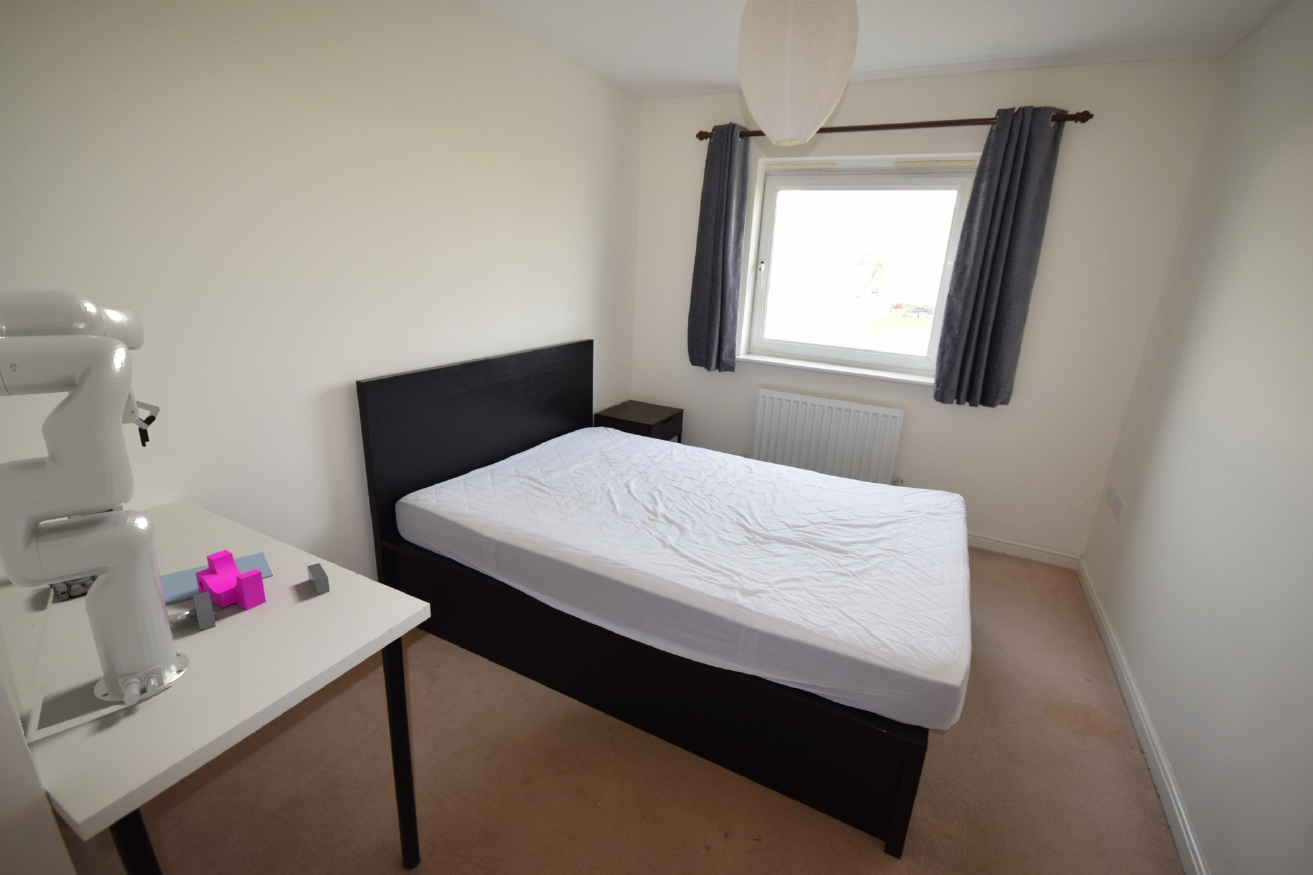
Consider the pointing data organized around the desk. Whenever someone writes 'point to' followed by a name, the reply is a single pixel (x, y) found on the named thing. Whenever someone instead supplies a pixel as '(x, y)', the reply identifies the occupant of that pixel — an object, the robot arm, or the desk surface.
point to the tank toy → (73, 587)
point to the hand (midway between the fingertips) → (114, 449)
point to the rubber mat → (185, 581)
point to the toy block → (230, 582)
